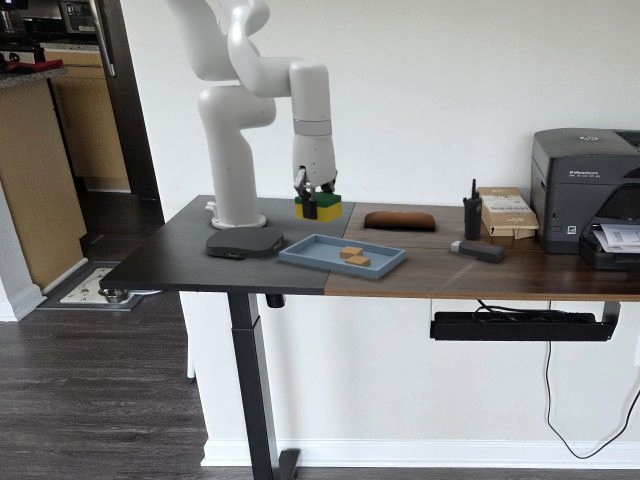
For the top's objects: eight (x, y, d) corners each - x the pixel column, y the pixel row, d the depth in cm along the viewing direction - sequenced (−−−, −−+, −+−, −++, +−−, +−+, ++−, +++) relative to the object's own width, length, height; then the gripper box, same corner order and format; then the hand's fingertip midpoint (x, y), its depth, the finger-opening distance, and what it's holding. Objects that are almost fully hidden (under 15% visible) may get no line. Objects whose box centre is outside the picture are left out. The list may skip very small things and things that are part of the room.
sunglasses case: (433, 220, 179) (434, 202, 174) (434, 240, 176) (435, 223, 170) (364, 218, 177) (363, 200, 171) (364, 239, 173) (363, 221, 168)
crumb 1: (339, 257, 150) (339, 251, 150) (346, 252, 154) (346, 246, 153) (356, 260, 150) (356, 254, 149) (363, 254, 153) (363, 248, 153)
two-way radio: (473, 241, 168) (476, 180, 161) (457, 238, 170) (459, 178, 162) (482, 235, 173) (485, 176, 165) (466, 232, 174) (469, 173, 167)
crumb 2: (344, 266, 146) (344, 260, 145) (355, 261, 149) (354, 254, 149) (360, 270, 145) (360, 263, 144) (370, 264, 148) (370, 258, 147)
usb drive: (496, 263, 156) (497, 251, 155) (449, 254, 159) (449, 242, 158) (504, 256, 160) (505, 245, 159) (457, 247, 163) (458, 236, 162)
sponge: (296, 218, 145) (294, 197, 143) (312, 210, 151) (310, 190, 148) (327, 223, 143) (326, 202, 141) (342, 215, 149) (341, 195, 147)
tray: (280, 262, 147) (279, 252, 146) (315, 243, 159) (314, 233, 158) (377, 281, 142) (377, 270, 140) (406, 260, 154) (406, 250, 152)
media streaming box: (228, 235, 159) (226, 222, 158) (289, 240, 159) (288, 228, 158) (200, 256, 147) (198, 243, 145) (267, 262, 147) (265, 249, 145)
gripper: (318, 120, 146) (324, 202, 155) (272, 132, 132) (281, 222, 140) (349, 124, 144) (353, 207, 153) (306, 136, 130) (313, 227, 139)
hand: (319, 213), depth 147 cm, fingers closed on sponge, 6 cm apart
